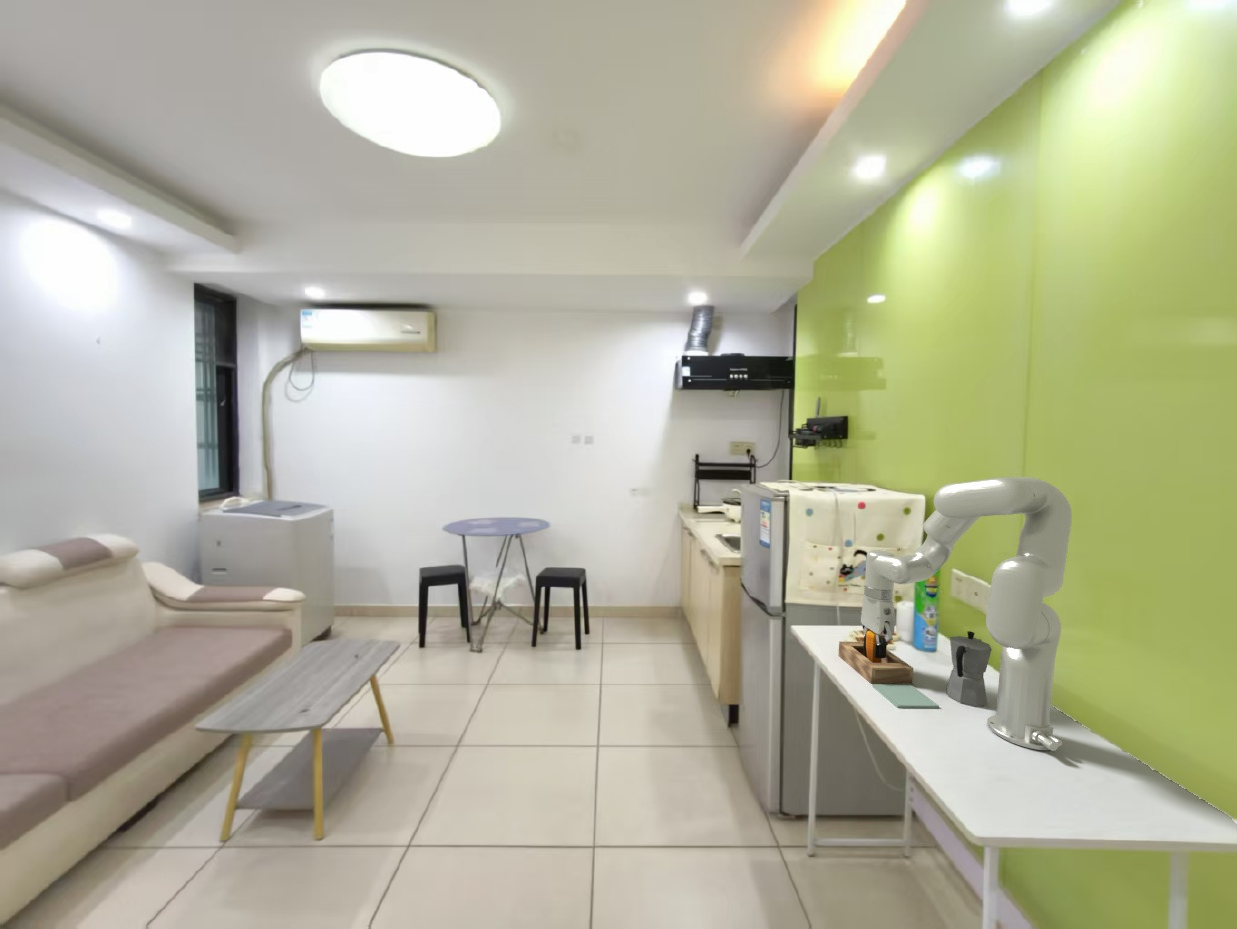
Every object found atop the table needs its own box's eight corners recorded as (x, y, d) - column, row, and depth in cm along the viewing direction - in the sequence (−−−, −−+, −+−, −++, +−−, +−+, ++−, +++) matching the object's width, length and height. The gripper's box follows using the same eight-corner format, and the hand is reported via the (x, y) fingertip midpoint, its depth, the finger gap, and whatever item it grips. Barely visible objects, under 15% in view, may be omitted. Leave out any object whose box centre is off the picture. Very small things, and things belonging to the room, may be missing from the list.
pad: (938, 708, 127) (938, 705, 127) (897, 707, 126) (897, 705, 126) (910, 686, 138) (910, 684, 138) (872, 686, 137) (872, 684, 137)
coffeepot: (954, 684, 141) (958, 621, 140) (994, 698, 134) (1000, 632, 133) (933, 700, 131) (938, 632, 130) (976, 716, 124) (981, 645, 123)
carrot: (866, 663, 152) (869, 615, 151) (884, 669, 149) (887, 619, 148) (861, 669, 148) (865, 619, 147) (880, 674, 145) (884, 623, 144)
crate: (912, 684, 140) (913, 668, 140) (871, 683, 139) (872, 667, 139) (875, 656, 158) (876, 642, 157) (838, 655, 157) (839, 641, 157)
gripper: (909, 602, 139) (904, 666, 140) (873, 584, 156) (870, 642, 157) (883, 602, 138) (878, 666, 139) (850, 584, 155) (847, 641, 156)
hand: (874, 652), depth 148 cm, fingers closed on carrot, 5 cm apart
